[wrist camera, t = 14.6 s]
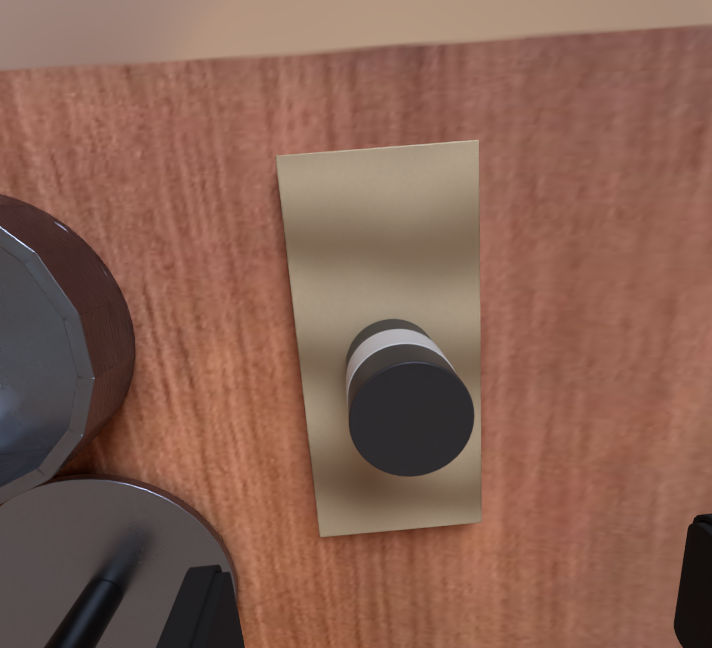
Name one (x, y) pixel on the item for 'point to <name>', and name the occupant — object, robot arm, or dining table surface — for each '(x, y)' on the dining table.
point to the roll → (405, 400)
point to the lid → (97, 562)
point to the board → (383, 311)
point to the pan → (55, 346)
